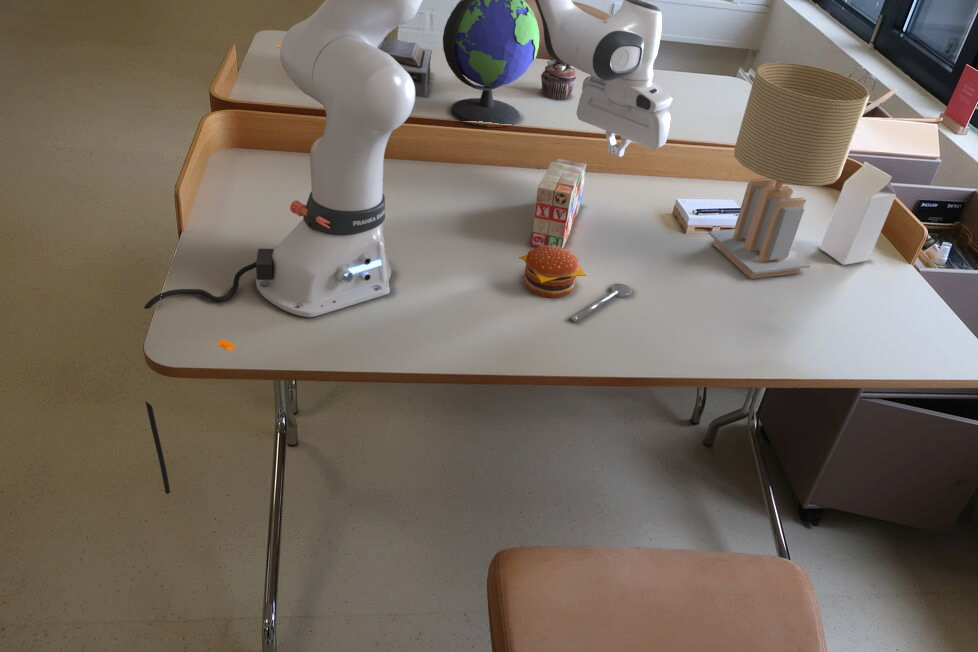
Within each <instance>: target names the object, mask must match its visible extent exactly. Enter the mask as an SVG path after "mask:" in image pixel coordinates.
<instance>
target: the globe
mask: <svg viewBox="0 0 978 652" xmlns="http://www.w3.org/2000/svg"><path fill="white" fill-rule="evenodd" d="M539 46H540V29H539V25H538V20H537V18H536V15H535V13H534V11H533V10H532V8H531V7H530V6H529V4H528V3H527V2H526V1H525V0H460V1H458V2H457V4H456V5H455V7H454V8H453V10H452V11H451V12H450V15H449V16H448V18H447V20H446V23H445V25H444V28H443V34H442V50H443V53H444V57H445V61H446V63H447V65H448V67H449V68H450V70H451V71H452V73H453V75H454V76H455V77H456V78H457V79H458V80H459V81H460V82H461V83H463V84H464V85H466V86H468V87H470V88H472V89H475V90H478V91H482V92H481V95H480V97H471V98H464V99H460V100H457V101H455V102H454V103H453V105H452V106H451V108H450V114H451V115H452V117H453V118H455V119H456V120H457V121H460V122H462V121H477V122H478V121H483V122H492V123H499V124H514V125H516V124H518V123H519V122H520V118H521V117H520V113H519V111H518V110H517V108H515V107H514V106H512V105H511V104H509V103H506V102H503V101H501V100H498V99H497V100H496V99H494V96H493V90H496V89H497V88H501V87H502V86H507V85H509V84H511V83H513V82H515V81H517V80H519V79H520V78H521V77H523V75H524V74H526V72H527V71H528V69H529V68H530V67H531V65H532V64H533V63H534V62H535V60H536V58H537V55H538V52H539V51H538V50H539ZM473 83H475V84H473ZM463 123H464V124H467V125H471V126H474V127H480V128H490V127H488V126H486V125H479V124H473V123H467V122H463ZM490 129H491V128H490Z"/></svg>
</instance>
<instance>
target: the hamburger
mask: <svg viewBox="0 0 978 652" xmlns="http://www.w3.org/2000/svg"><path fill="white" fill-rule="evenodd" d="M518 259H520V260H522V261H523V262H524V263H525V267H524V271H525V273H524V276H523V284H524V285H525V287H526V288H527V289H528V290H529V291H530V292H532V293H533V294H536V295H538V296H541V297H547V298H561V297H562V298H563V297H565V296H567V295H570V293H572V292H573V291H574V289H575V284H576V279H577V277H586V276H587V274H586V273H585V271H584V270H583V269H582V267H581V266H580V264H579V259H578V258H577V256H575V255H574V254H573V253H572V252H571V251H570V250H569V249H567V248H564V247H563V248H561V247H558V246H550V245H542V246H539V247H535V248H532V249H530V250H528V252H527V253H526V254H524V255H521V256H518Z"/></svg>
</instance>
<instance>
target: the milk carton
mask: <svg viewBox="0 0 978 652" xmlns="http://www.w3.org/2000/svg"><path fill="white" fill-rule="evenodd" d="M892 178H893V176H892V175H890V174H888V173H886V172H885V171H884V170H882V169H879V168H878V167H876V166H874V165H872V163H869V162H867V161H864V162H863V164H862V166H861V167H860V168H859V169H858V170H856V171H855V172H853V174H852V175H851V176H850V177H848V178H847V179H846V180H845V181H844V183H843V186H842V187H841V192H840V193H839V196H838V198H837V202H836V204H835V207H834V209H833V213H832V215H831V218H830V221H829V223H828V226H827V228H826V231H825V234H824V237H823V239H822V242H821V244H820V247H819V249H820V250H821V251H822V252H824V253H825V254H827V255H828V256H830V257H831V258H833V259H834V260H836V261H837V262H838V263H840V264H841V265H842V266H846V265H852V264H857V263H864V262H868V261H869V260H870V259H871V256H872V254H873V251H874V249H875V248H876V244H877V242H878V240H879V238H880V234H881V232H882V229H883V228H884V225H885V223H886V220H887V218H888V216H889V213H890V211H891V208H892V206H893V203H894V201H895V198H896V196H897V193H896V191H895V188H894V187H893V185H892V183H891V180H892Z"/></svg>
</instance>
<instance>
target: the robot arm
mask: <svg viewBox="0 0 978 652" xmlns="http://www.w3.org/2000/svg"><path fill="white" fill-rule="evenodd" d="M423 1H424V0H324V1H323V2H322V4H321V5H320V6H319V7H318V8H317V9H316V11H314V12H313V13H312V14H311V15H310V16H309V17H308V18H306V19H304V20H302V21H300V22H297V23H295V24H294V25H292V26H291V27H290V28H289V29H288V30H287V31H286V33H285V35H284V36H283V38H282V41H281V43H280V48H279V58H280V64H281V66H282V68H283V70H284V72H285V74H287V76H288V77H289V79H290V80H291V81H292V83H293V84H294V85H295V86H296V88H298V89H299V91H301V92H302V93H303V94H305V95H306V96H308V97H310V98H312V99H313V100H315V101H316V102H318V103H319V104H320V105H322V106H323V109H324V111H325V115H326V121H325V127H324V130H323V133H322V134H323V135H321V136H320V137H319V138H318V139H316V140H315V141H314V142H313V144H312V145H311V147H310V150H309V151H310V152H309V157H310V158H309V159H310V161H309V163H310V183H311V184H310V186H311V191H310V192H309V195H308V199H307V201H306V204H304V203H301V202H300V201H299V200H293V201H292V202H291V204H290V205H289V211H290V212H291V213H292V214H295V215H297V216H298V217H302V220H301V221H299V223H298V224H297V225H296V226H295V227H294V228H293V229H292V230H291V232H289V234H287V236H285V238H284V239H283V240H282V241H281V242H280V243H279V244H278V245H277V246H276V247H275V248H258V249H257V254H256V261H254V262H252V263H250V264H248V265H245V266H244V267H242V268H240V269H239V270H237V272H236V273H235V275H234V278H233V283H232V285H231V287H230V289H229V290H228V292H227V293H226V294H225V295H221V296H216V295H213V294H211V293H210V292H209V291H206V290H204V289H200V288H179V289H172V290H171V289H170V290H167V291H163V292H161V293H159V294H157V295H155V296H153V298H151V299H150V300H149V301H147V303H146V304H145V305H144V306H143V309H145V310H147V309H148V310H149V309H151V308H152V307H153V306H154V305H156V303H158V302H159V301H161V300H163V299H166V298H167V297H171V296H177V295H179V296H180V295H200V296H203V297H205V298H206V299H207V300H210V301H212V302H217V303H221V302H226V301H228V300H230V299H231V298H232V297H233V296H234V295H235V293H236V292H237V290H238V287H239V284H240V279H241V277H242V276H243V275H244V274H245V273H247V272H249V271H251V270H253V269H255V272H256V279H255V286H256V289H257V291H258V292H259V294H260V295H261V296H262V297H263V298H265V300H267V301H268V302H270V303H271V304H273V305H274V306H276V307H277V308H279V309H281V310H283V311H285V312H287V313H289V314H292V315H294V316H299V317H304V318H314V317H318V316H321V315H324V314H328V313H331V312H335V311H338V310H341V309H344V308H348V307H351V306H354V305H357V304H360V303H365V302H367V301H370V300H373V299H377V298H380V297H383V296H386V295H388V294H390V292H391V289H390V283H389V281H390V279H391V276H392V269H391V265H390V263H389V259H388V254H387V248H386V242H385V234H384V233H385V232H384V221H385V219H386V211H387V210H386V196H385V195H384V193H383V192H384V189H383V188H384V187H383V186H384V160H385V154H386V153H385V152H386V148H387V144H388V142H389V139H390V137H391V134H392V133H393V131H395V130H397V129H398V128H400V127H401V126H402V125H403V124H404V123H405V122H406V121H407V120H408V118H409V117H410V115H411V113H412V111H413V109H414V106H415V102H416V96H415V86H414V83H413V80H412V78H411V77H410V75H409V74H408V73H407V72H406V71H405V69H404V68H403V67H402V66H401V65H400V64H399V63H398V62H397V61H396V60H395V59H394V58H393V57H391V56H390V55H389V54H387V53H385V52H383V51H382V50H380V49H378V48H377V47H378V46H379V44H380V43H381V42H382V41H383V39H385V38H386V37H387V36H388V35H389V34H390V33H391V32H392V31H393V30H395V29H396V28H397V27H400V26H402V25H404V24H407V23H409V22H411V21H412V20H414V18H415V17H416V16H417V14H418V12H419V10H420V7H421V5H422V3H423ZM534 2H535V5H536V7H537V10H538V13H539V16H540V19H541V22H542V27H543V28H542V29H543V38H544V39H543V40H544V45H545V49H546V51H547V53H548V55H549V56H550V58H553V59H554V60H556V61H559V62H562V63H565V64H568V65H571V66H573V67H574V69H577V70H578V71H581V72H582V73H585V74H587V75H589V76H586V77H585V78H584V79H583V81H582V88H581V94H580V97H579V100H578V104H577V109H576V116H577V119H578V120H579V121H581V122H583V123H586V124H589V125H591V126H594V127H596V128H599V129H601V130H602V131H603V130H604V131H605V138H606V142H607V145H608V147H607V154H611V155H612V156H616V157H618V158H622V157H623V156H624V155H625V150H626V148H627V147H628V146H629V145H630V143H632V142H633V143H636V144H639V145H640V146H643V147H646V148H648V149H651V150H657V149H660V148H661V147H663V146H665V144H666V143H667V140H668V136H669V132H670V125H671V124H670V123H671V113H670V111H669V109H668V107H670V106H671V105H672V101H673V98H672V96H671V95H670V94H669V93H668V92H667V91H666V90H664V89H663V88H662V87H661V86H660V85H658V84H657V82H655V81H654V80H653V77H654V63H655V60H656V58H657V56H658V53H659V48H660V42H661V37H662V28H663V15H662V11H661V10H660V9H659V7H658V6H656V5H653V4H651V3H649V2H647V1H643V0H623V1H622V3H621V6H620V8H619V9H618V10H617V11H616V12H615V13H614V14H612V15H611V16H610V17H607V18H605V19H601V18H599V17H597V16H595V15H592V14H589V13H587V12H586V11H584V10H582V9H581V8H579V7H578V6H576V5H575V4H574V2H573V1H572V0H534ZM616 136H619V137H620V142H621V143H620V144H617V141H616ZM161 295H162V296H161ZM160 298H161V299H160ZM145 406H146V410H147V416H148V419H149V424H150V428H151V433H152V437H153V441H154V445H155V449H156V453H157V458H158V462H159V467H160V472H161V478H162V482H163V488H164V493H165V494H167V495H168V494H171V488H170V487H171V486H170V482H169V477H168V472H167V467H166V462H165V457H164V453H163V448H162V444H161V439H160V435H159V430H158V427H157V423H156V418H155V413H154V408H153V405H151V404H150V403H149V402H148V401H145Z"/></svg>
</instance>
